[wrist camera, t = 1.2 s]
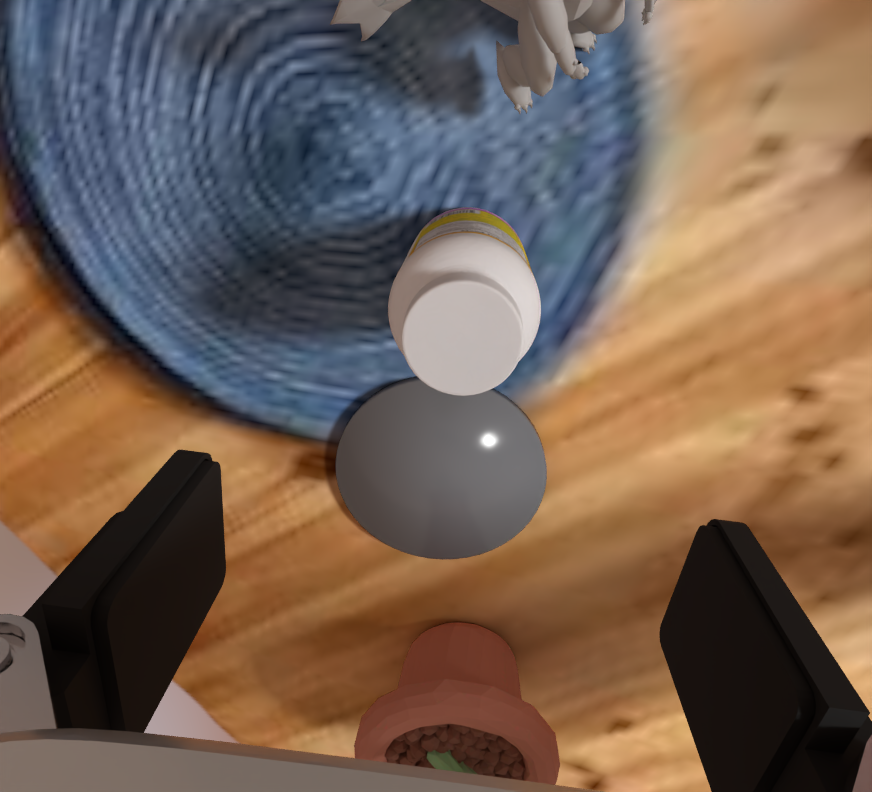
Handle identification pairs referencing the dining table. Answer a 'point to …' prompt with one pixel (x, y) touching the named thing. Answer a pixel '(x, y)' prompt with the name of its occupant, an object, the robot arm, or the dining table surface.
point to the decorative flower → (460, 711)
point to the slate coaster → (440, 470)
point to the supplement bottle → (464, 302)
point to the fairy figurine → (523, 36)
